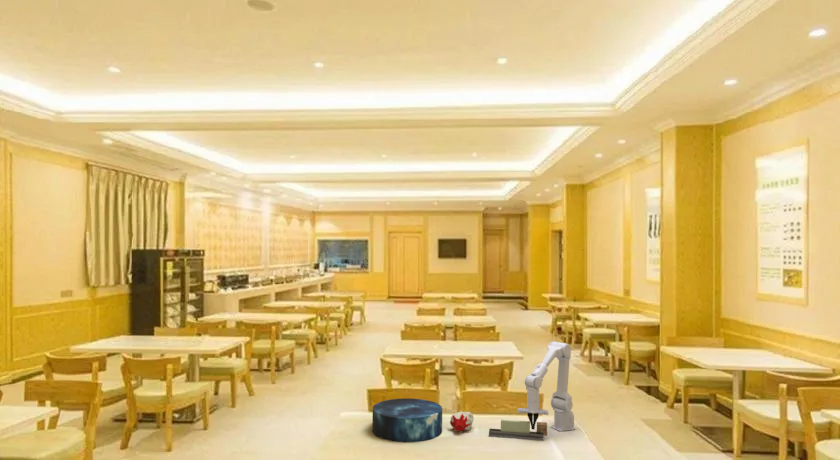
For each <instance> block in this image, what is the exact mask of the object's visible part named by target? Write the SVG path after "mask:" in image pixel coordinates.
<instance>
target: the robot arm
mask: <svg viewBox="0 0 840 460" xmlns="http://www.w3.org/2000/svg"><path fill="white" fill-rule="evenodd" d="M571 355H572V347H571V345H570V344H569V343H564V342H559V341H554V340H552V341H550V342H549V343H548V345H547V352H546V354H545V356H544V358H543V359H542V361H541V362H540V363H538V364H536V366H535V368H534V369H533V370H532V372H531V374H528V375H527V376H526V377H525V380H524V385H525V390H526V392H527V394H526V395H527V396H526V407H522V408H521V407H518V408H517V413H518V414H527V418H528V421H530V429H531V430H535V428H536V427H535V426H536V425H537V422H538V421H537V420H538V419H539V415H546V416H549V409H542V408H540V388H541V387H542V385H543V381H544V377H545V376H546V374H547V373H548V372H549V371H548V370H549V369H548V367H549V366H550V365H551V364H552V362H553V361H554V360H555V358H557V360H558V367H557V368H558V369H557V380H556V381H557V385H556V391H555V392H553V393H552V396H551V397H552V398H550V406H551V408H552V410H553V414H554V417H553V418H554V419H553V420H554V421H553V424H554V425H550V427H551V428H552V429H554V430H556V431H559V432H563V431H564V432H565V431H572V430H573V431H574V430H576V429H575V415H574V412H573V410H572V409H573V406H574V404H573V399H572V398H573V397H572V395H570V393H569V392H568V389H569V388H568V387H569V385H568V384H569V373H570V371H569V370H570V361H571V357H572V356H571Z"/></svg>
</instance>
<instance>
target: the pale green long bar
mask: <svg viewBox="0 0 840 460" xmlns="http://www.w3.org/2000/svg"><path fill="white" fill-rule="evenodd" d="M500 429H501V431H503V432H516V433H530V431H531V423H530V420H528V421H527V420H516V419H515V420H514V419H513V420H512V419H500Z"/></svg>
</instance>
